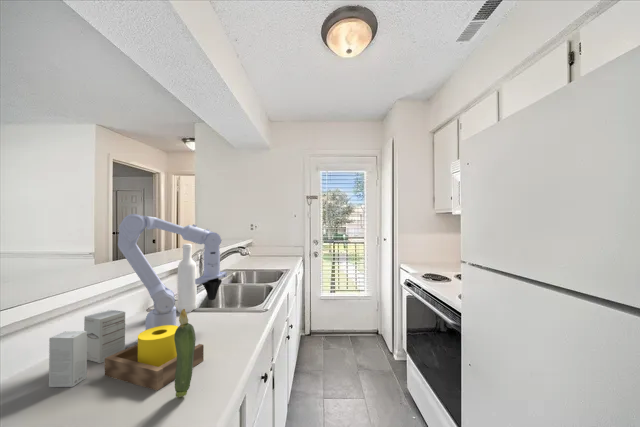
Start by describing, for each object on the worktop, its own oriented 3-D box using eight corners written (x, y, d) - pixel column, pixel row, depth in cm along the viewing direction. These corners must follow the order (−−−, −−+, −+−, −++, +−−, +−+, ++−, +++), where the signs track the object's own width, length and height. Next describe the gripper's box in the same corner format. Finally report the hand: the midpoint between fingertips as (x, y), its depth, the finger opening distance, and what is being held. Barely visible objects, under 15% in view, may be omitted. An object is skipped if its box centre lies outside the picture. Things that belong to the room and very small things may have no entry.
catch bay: (104, 375, 70) (104, 358, 70) (155, 350, 84) (155, 335, 84) (157, 390, 64) (157, 371, 64) (203, 360, 77) (203, 344, 77)
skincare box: (87, 377, 70) (88, 330, 70) (72, 387, 65) (72, 337, 66) (64, 377, 70) (65, 330, 70) (47, 387, 65) (48, 338, 66)
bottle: (174, 310, 121) (174, 244, 122) (192, 306, 127) (192, 242, 128) (181, 314, 116) (182, 245, 117) (199, 309, 122) (199, 243, 123)
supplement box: (82, 359, 79) (83, 316, 79) (109, 348, 86) (110, 308, 86) (99, 364, 76) (99, 319, 76) (126, 352, 83) (126, 310, 83)
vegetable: (179, 389, 64) (179, 304, 65) (198, 388, 64) (198, 304, 65) (170, 401, 60) (170, 310, 60) (190, 400, 60) (190, 310, 61)
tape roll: (145, 360, 78) (145, 327, 78) (183, 355, 81) (183, 323, 81) (131, 379, 68) (131, 342, 69) (174, 373, 71) (174, 337, 71)
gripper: (206, 267, 94) (206, 306, 94) (232, 261, 108) (233, 295, 108) (190, 266, 97) (190, 304, 96) (218, 260, 110) (218, 293, 110)
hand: (212, 299), depth 102 cm, fingers closed
